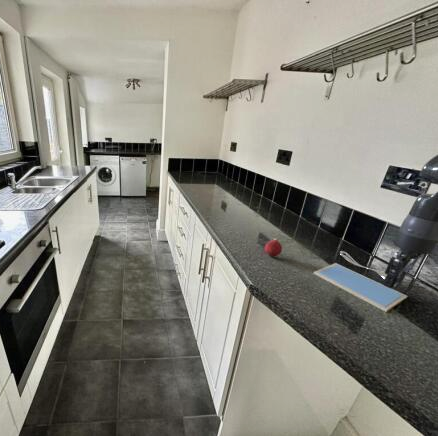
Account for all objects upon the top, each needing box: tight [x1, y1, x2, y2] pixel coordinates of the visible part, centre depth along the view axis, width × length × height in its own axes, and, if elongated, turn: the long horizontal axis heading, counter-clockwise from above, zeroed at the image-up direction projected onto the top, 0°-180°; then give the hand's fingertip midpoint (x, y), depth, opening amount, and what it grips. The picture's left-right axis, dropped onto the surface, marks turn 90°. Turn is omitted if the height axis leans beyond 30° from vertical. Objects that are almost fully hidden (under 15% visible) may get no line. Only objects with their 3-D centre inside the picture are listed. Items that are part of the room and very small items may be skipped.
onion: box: [264, 238, 283, 258], centre depth 90 cm, size 6×6×8 cm
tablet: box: [313, 262, 408, 313], centre depth 76 cm, size 14×20×1 cm
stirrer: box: [339, 250, 398, 287], centre depth 85 cm, size 20×4×5 cm
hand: (391, 283), depth 69 cm, fingers open, 5 cm apart
